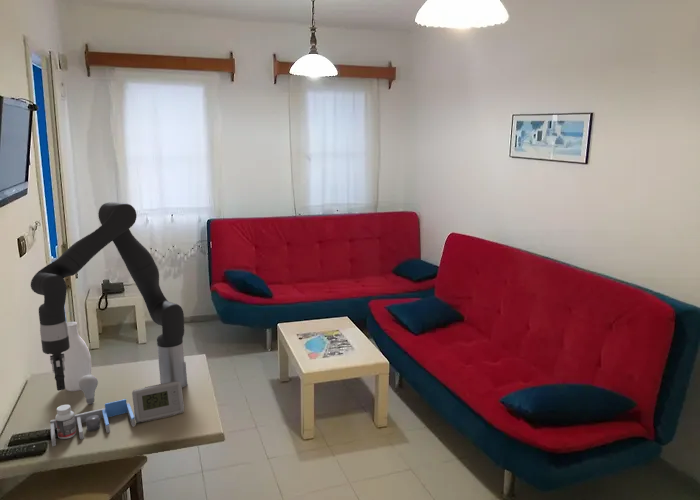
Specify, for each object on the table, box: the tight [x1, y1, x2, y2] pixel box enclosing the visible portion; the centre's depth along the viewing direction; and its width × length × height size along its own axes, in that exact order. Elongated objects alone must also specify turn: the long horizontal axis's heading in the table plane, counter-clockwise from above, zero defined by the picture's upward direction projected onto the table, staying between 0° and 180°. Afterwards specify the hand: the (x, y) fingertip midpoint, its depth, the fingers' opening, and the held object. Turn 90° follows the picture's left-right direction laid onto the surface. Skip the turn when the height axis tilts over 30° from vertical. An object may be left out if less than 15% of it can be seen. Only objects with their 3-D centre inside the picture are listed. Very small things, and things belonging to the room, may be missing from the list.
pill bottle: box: [55, 404, 77, 440], centre depth 175 cm, size 5×5×10 cm
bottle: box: [61, 321, 93, 392], centre depth 208 cm, size 11×11×25 cm
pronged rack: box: [49, 398, 136, 447], centre depth 180 cm, size 24×12×5 cm, turn 120°
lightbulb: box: [79, 374, 99, 405], centre depth 195 cm, size 6×6×11 cm
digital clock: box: [131, 381, 185, 423], centre depth 188 cm, size 16×9×11 cm, turn 105°
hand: (60, 384), depth 173 cm, fingers open, 8 cm apart
